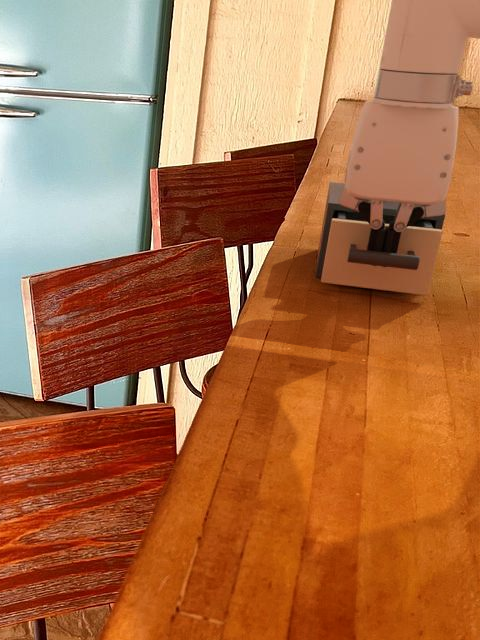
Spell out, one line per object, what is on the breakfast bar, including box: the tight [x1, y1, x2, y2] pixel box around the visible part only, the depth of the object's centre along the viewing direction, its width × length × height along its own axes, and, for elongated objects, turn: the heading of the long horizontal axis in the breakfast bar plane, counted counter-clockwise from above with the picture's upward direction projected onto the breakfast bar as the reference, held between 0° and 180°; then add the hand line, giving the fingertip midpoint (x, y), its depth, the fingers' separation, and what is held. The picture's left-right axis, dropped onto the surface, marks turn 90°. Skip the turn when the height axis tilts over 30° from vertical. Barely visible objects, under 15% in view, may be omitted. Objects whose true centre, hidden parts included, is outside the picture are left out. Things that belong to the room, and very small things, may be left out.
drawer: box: [320, 211, 443, 296], centre depth 103 cm, size 18×11×7 cm, turn 160°
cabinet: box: [315, 181, 446, 279], centre depth 110 cm, size 15×13×9 cm
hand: (379, 263), depth 97 cm, fingers closed
